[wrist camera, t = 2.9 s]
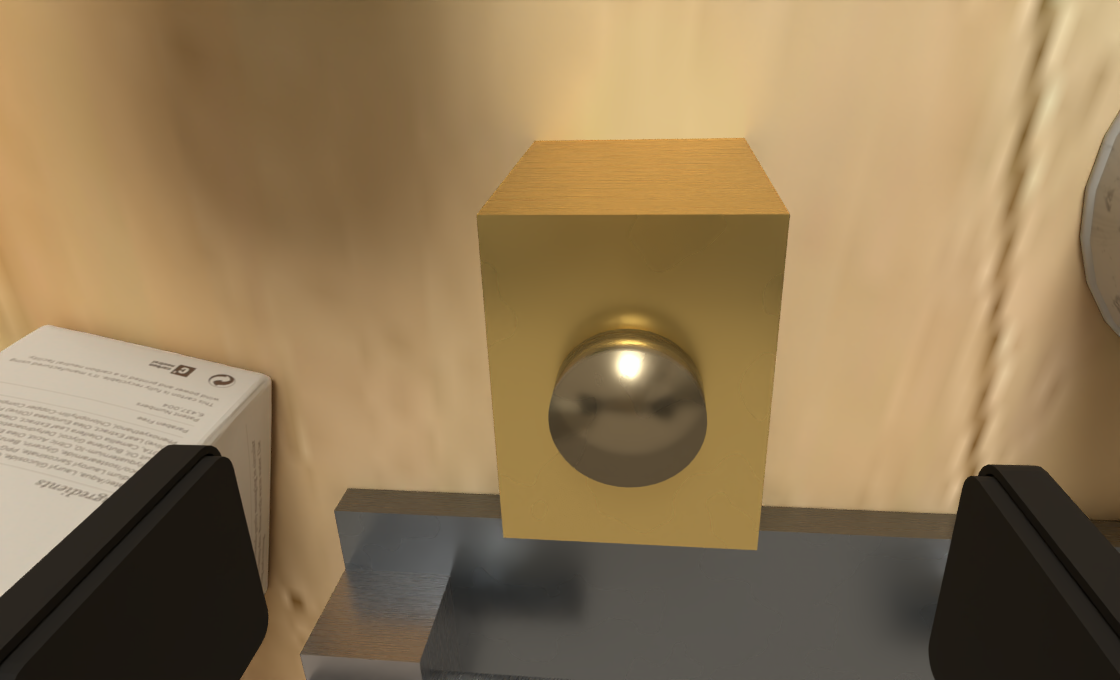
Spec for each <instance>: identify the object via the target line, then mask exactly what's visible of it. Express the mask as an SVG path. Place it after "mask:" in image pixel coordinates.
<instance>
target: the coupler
mask: <svg viewBox="0 0 1120 680" xmlns="http://www.w3.org/2000/svg"><path fill="white" fill-rule="evenodd" d="M789 218H790V214H789V212H788V210H787V209H786V207H785V205H784V204H783V202H782V200H781V199H780V197H779V195H778V194H777V192H776V190H775V189H774V187H773V185H772V183H771V182H770V180H769V178H768V177H767V175H766V173H765V172H764V170H763V168H762V167H761V165H760V163H759V162H758V160H757V158H756V157H755V155H754V153H753V152H752V150H751V148H750V146H749V145H748V143H747V141H746V140H745V138H712V139H641V140H569V141H534V143H533V144H532V145H531V146H530V148H529V149H528V150H527V151H526V153H525V154H524V155H523V157H522V158H521V159H520V160H519V162H518V163H517V164H516V165H515V167H514V168H513V169H512V171H511V172H510V173H509V174H508V176H507V177H506V178H505V179H504V181H503V182H502V183H501V185H500V186H499V187H498V188H497V190H496V191H495V192H494V193H493V195H492V196H491V197H490V199H489V200H488V201H487V202H486V204H485V205H484V206H483V207H482V209H481V210H480V211H479V213H478V214H477V226H478V238H479V250H480V262H481V274H482V286H483V298H484V310H485V323H486V335H487V347H488V359H489V371H490V383H491V395H492V407H493V419H494V431H495V443H496V455H497V468H498V480H499V492H500V504H501V516H502V528H503V538H519V539H539V540H560V541H580V542H600V543H621V544H641V545H661V546H681V547H702V548H722V549H742V550H757V546H758V536H759V526H760V515H761V505H762V495H763V485H764V474H765V464H766V454H767V443H768V433H769V423H770V413H771V402H772V392H773V382H774V372H775V361H776V351H777V341H778V331H779V320H780V310H781V300H782V289H783V279H784V269H785V259H786V248H787V238H788V228H789Z"/></svg>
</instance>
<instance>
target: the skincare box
mask: <svg viewBox="0 0 1120 680" xmlns="http://www.w3.org/2000/svg"><path fill="white" fill-rule="evenodd" d="M271 420H272V380H271V378H270V377H269V376H267V375H265V374H262V373H258V372H254V371H249V370H245V369H241V368H236V367H232V366H228V365H224V364H220V363H216V362H211V361H207V360H203V359H199V358H194V357H190V356H185V355H182V354H178V353H174V352H169V351H164V350H160V349H155V348H151V347H147V346H142V345H138V344H133V343H128V342H124V341H119V340H115V339H111V338H106V337H102V336H98V335H94V334H89V333H85V332H80V331H75V330H70V329H65V328H61V327H56V326H52V325H45V326H42V327H40V328H38V329H37V330H35V331H33V332H32V333H30V334H28V335H27V336H25V337H23V338H22V339H20V340H18V341H17V342H15V343H13V344H12V345H10V346H9V347H7V348H6V349H4V350H3V351H1V352H0V597H1V596H2V595H3V594H4V593H5V592H6V591H7V590H8V589H10V588H11V587H12V586H13V585H14V584H15V583H16V582H17V581H18V580H19V579H20V578H22V577H23V576H24V575H25V574H26V573H27V572H28V571H29V570H30V569H31V568H32V567H34V566H35V565H36V564H37V563H38V562H39V561H40V560H41V559H42V558H43V557H44V556H46V555H47V554H48V553H49V552H50V551H51V550H52V549H53V548H54V547H55V546H56V545H58V544H59V543H60V542H61V541H62V540H63V539H64V538H65V537H66V536H67V535H68V534H70V533H71V532H72V531H73V530H74V529H75V528H76V527H77V526H78V525H79V524H80V523H82V522H83V521H84V520H85V519H86V518H87V517H88V516H89V515H90V514H91V513H92V512H94V511H95V510H96V509H97V508H98V507H99V506H100V505H101V504H102V503H103V502H104V501H106V500H107V499H108V498H109V497H110V496H111V495H112V494H113V493H114V492H115V491H116V490H117V489H119V488H120V487H121V486H122V485H123V484H124V483H125V482H126V481H127V480H128V479H129V478H131V477H132V476H133V475H134V474H135V473H136V472H137V471H138V470H139V469H140V468H141V467H143V466H144V465H145V464H146V463H147V462H148V461H149V460H150V459H151V458H152V457H153V456H155V455H156V454H157V453H158V452H159V451H160V450H161V449H162V448H164V447H166V446H167V445H173V444H177V445H212V446H214V447H216V448H217V449H218V450H219V452H220V453H221V455H222V456H223V457H227V458H229V459H230V461H231V462H232V464H233V467H234V471H235V475H236V479H237V484H238V488H239V492H240V496H241V500H242V505H243V509H244V513H245V517H246V521H247V526H248V530H249V534H250V538H251V542H252V546H253V551H254V555H255V559H256V563H257V567H258V572H259V576H260V580H261V584H262V588H263V593H264V594H265V593H266V591H267V588H268V559H269V521H270V476H271Z"/></svg>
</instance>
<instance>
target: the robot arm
mask: <svg viewBox="0 0 1120 680" xmlns="http://www.w3.org/2000/svg"><path fill="white" fill-rule="evenodd" d="M267 626H268V609H267V605H266V601H265V597H264V593H263V588H262V584H261V580H260V576H259V572H258V567H257V563H256V559H255V555H254V551H253V546H252V542H251V538H250V534H249V530H248V526H247V521H246V517H245V513H244V509H243V505H242V500H241V496H240V492H239V488H238V484H237V479H236V475H235V471H234V467H233V464H232V462H231V461H230V459H229V458H227V457H223V456H222V455H221V453H220V452H219V450H218V449H217V448H216V447H214V446H212V445H177V444H173V445H167V446H166V447H164V448H162V449H161V450H160V451H159V452H158V453H157V454H156V455H155V456H153V457H152V458H151V459H150V460H149V461H148V462H147V463H146V464H145V465H144V466H143V467H141V468H140V469H139V470H138V471H137V472H136V473H135V474H134V475H133V476H132V477H131V478H129V479H128V480H127V481H126V482H125V483H124V484H123V485H122V486H121V487H120V488H119V489H117V490H116V491H115V492H114V493H113V494H112V495H111V496H110V497H109V498H108V499H107V500H106V501H104V502H103V503H102V504H101V505H100V506H99V507H98V508H97V509H96V510H95V511H94V512H92V513H91V514H90V515H89V516H88V517H87V518H86V519H85V520H84V521H83V522H82V523H80V524H79V525H78V526H77V527H76V528H75V529H74V530H73V531H72V532H71V533H70V534H68V535H67V536H66V537H65V538H64V539H63V540H62V541H61V542H60V543H59V544H58V545H56V546H55V547H54V548H53V549H52V550H51V551H50V552H49V553H48V554H47V555H46V556H44V557H43V558H42V559H41V560H40V561H39V562H38V563H37V564H36V565H35V566H34V567H32V568H31V569H30V570H29V571H28V572H27V573H26V574H25V575H24V576H23V577H22V578H20V579H19V580H18V581H17V582H16V583H15V584H14V585H13V586H12V587H11V588H10V589H8V590H7V591H6V592H5V593H4V594H3V595H2V596H1V597H0V680H240V678H241V677H242V675H243V673H244V672H245V670H246V668H247V667H248V665H249V663H250V662H251V660H252V658H253V657H254V655H255V653H256V652H257V650H258V648H259V647H260V645H261V643H262V641H263V639H264V637H265V634H266V631H267ZM928 653H929V663H930V667H931V671H932V674H933V677H934V679H935V680H1120V553H1119V552H1118V551H1117V550H1116V549H1115V548H1114V547H1113V545H1112V544H1111V543H1110V542H1109V541H1108V540H1107V539H1106V538H1105V537H1104V535H1103V534H1102V533H1101V532H1100V531H1099V530H1098V529H1097V528H1096V526H1095V525H1094V524H1093V523H1092V522H1091V521H1090V520H1089V519H1088V517H1087V516H1086V515H1085V514H1084V513H1083V512H1082V511H1081V510H1080V509H1079V507H1078V506H1077V505H1076V504H1075V503H1074V502H1073V501H1072V500H1071V498H1070V497H1069V496H1068V495H1067V494H1066V493H1065V492H1064V491H1063V489H1062V488H1061V487H1060V486H1059V485H1058V484H1057V483H1056V482H1055V481H1054V479H1053V478H1052V477H1051V476H1050V475H1049V474H1048V473H1047V472H1046V471H1045V470H1044V469H1043V468H1041V467H1039V466H1029V465H986V466H984V467H983V468H982V469H981V471H980V472H979V475H978V476H970V477H968V478H967V479H966V480H965V482H964V485H963V488H962V493H961V497H960V502H959V507H958V511H957V516H956V520H955V525H954V529H953V534H952V539H951V543H950V548H949V552H948V557H947V562H946V566H945V571H944V575H943V580H942V585H941V589H940V594H939V598H938V603H937V608H936V612H935V617H934V621H933V626H932V631H931V635H930V640H929V647H928Z"/></svg>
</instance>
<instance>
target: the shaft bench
mask: <svg viewBox="0 0 1120 680" xmlns="http://www.w3.org/2000/svg"><path fill="white" fill-rule="evenodd" d="M334 512H335V518H336V523H337V528H338V533H339V538H340V543H341V548H342V553H343V558H344V563H345V568H346V569H345V571H344V573H343V575H342V576H341V578H340V580H339V582H338V584H337V586H336V588H335V590H334V591H333V593H332V595H331V597H330V599H329V601H328V603H327V605H326V606H325V608H324V610H323V612H322V614H321V616H320V618H319V620H318V621H317V623H316V625H315V627H314V629H313V631H312V633H311V635H310V636H309V638H308V640H307V642H306V644H305V646H304V648H303V650H302V651H301V653H300V656H301V661H302V665H303V669H304V673H305V677H306V680H935V679H934V677H933V674H932V671H931V667H930V663H929V653H928V647H929V640H930V635H931V631H932V626H933V621H934V617H935V612H936V608H937V603H938V598H939V594H940V589H941V585H942V580H943V575H944V571H945V566H946V562H947V557H948V552H949V548H950V543H951V539H952V534H953V529H954V525H955V520H956V516H957V515H955V514H931V513H908V512H885V511H861V510H838V509H814V508H791V507H768V506H761V515H760V526H759V536H758V546H757V550H742V549H722V548H702V547H681V546H661V545H641V544H621V543H600V542H580V541H560V540H539V539H519V538H503V528H502V516H501V504H500V495H487V494H464V493H440V492H417V491H394V490H370V489H347V491H346V492H345V494H344V496H343V497H342V499H341V501H340V502H339V504H338V505H337V507H336V509H335V510H334ZM1090 521H1091V522H1092V523H1093V524H1094V525H1095V526H1096V528H1097V529H1098V530H1099V531H1100V532H1101V533H1102V534H1103V535H1104V537H1105V538H1106V539H1107V540H1108V541H1109V542H1110V543H1111V544H1112V545H1113V547H1114V548H1115V549H1116V550H1117V551H1118V552H1119V553H1120V522H1118V521H1095V520H1090Z"/></svg>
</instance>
